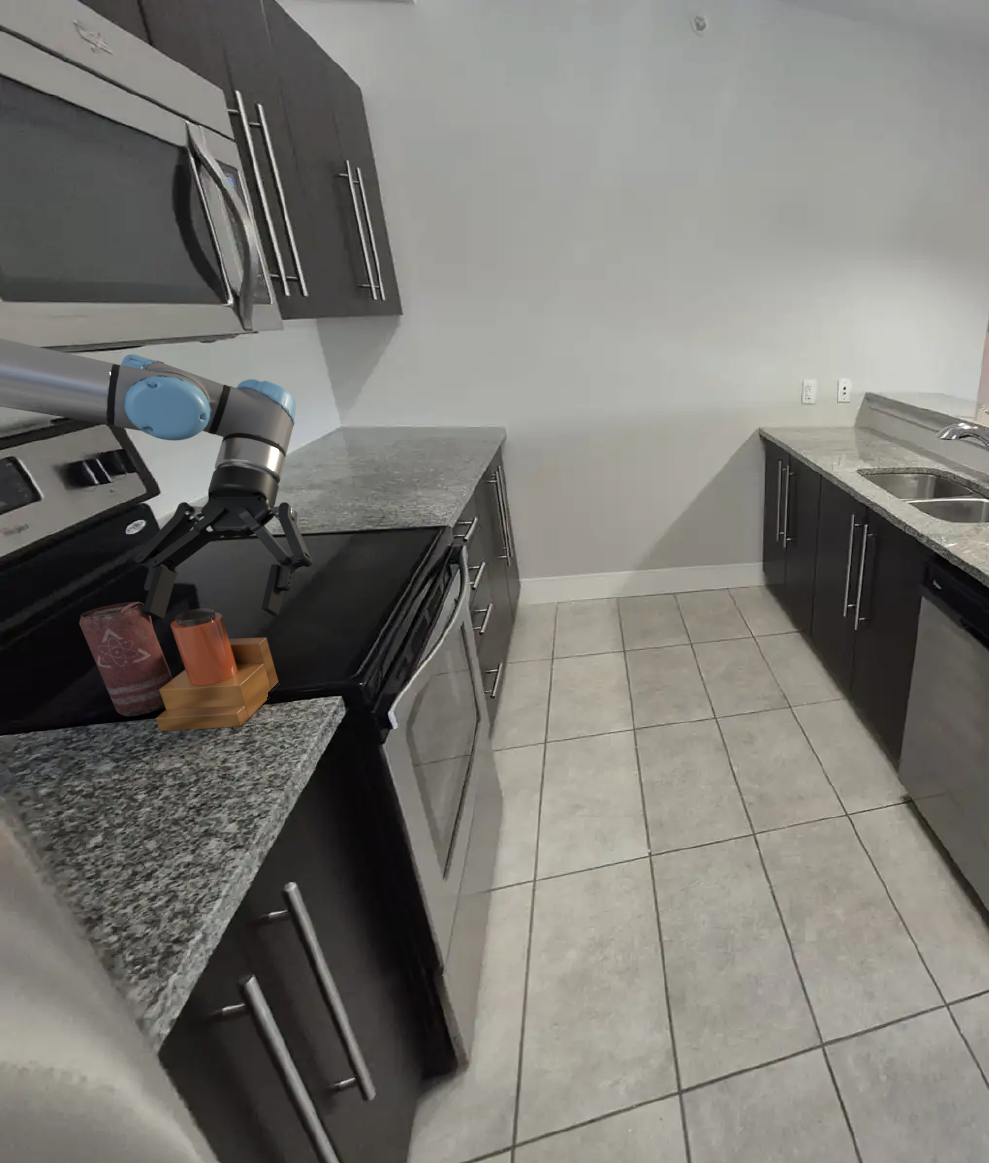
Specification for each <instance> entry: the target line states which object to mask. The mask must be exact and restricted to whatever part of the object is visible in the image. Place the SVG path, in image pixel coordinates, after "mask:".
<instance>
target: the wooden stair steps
mask: <svg viewBox="0 0 989 1163" xmlns="http://www.w3.org/2000/svg"><path fill="white" fill-rule="evenodd" d="M229 641H230V645H231V648H232V651H233V655H234V658H235V661H236V665H237V668H238V672H237V673H236V674H235V675H234V676H233V677H231V678H229V679H227V680H224V681H221V682H218V683H214V684H209V685H194V684H191V683H190V682H189V679H188V676H187V673H186V670H185V669H184V670H183V671H181V672H180V673H179V674H177V675H176V676H175V677H173V679H172V680H171V681H170V682H168V683H167V684H166V685H165V686H163V687H162V688H161V689H159V690H160V693H161V696H162V699H163V702H164V705H165V707H164V708H165V710H163V711H162V712H161V713H160V714H159V715H157V717H156V718H155V720H156V724H157V727H158V728H159V731H160V732H171V731H189V730H190V731H191V730H202V729H203V730H205V729H218V728H219V729H221V728H222V729H223V728H236V727H237V728H239V727H242V726H243V725H244V724H245V723H246V721H248V720H249V718H250V717H252V715H254V713H255V712H256V711H258V710H259V709H260V707H261V706H262V705H263V704H265V703H266V702H267V700H268V699H267V697H268V692H269V691H270V690H271V689H272V688H273V687H274V686H275V685H276V684H277V683H278V682H279V679H278V675H277V672H276V668H275V664H274V661H273V656H272V653H271V649H270V645H269V642H268V639H267V637H246V638H245V637H242V638H229Z"/></svg>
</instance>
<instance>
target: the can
mask: <svg viewBox="0 0 989 1163" xmlns="http://www.w3.org/2000/svg"><path fill="white" fill-rule="evenodd" d="M144 605H145V603H143V602H141V601H130V602H122V603H114V604H110V605H105V606H101V607H97V608H93V609H91V610H88V611H86V612H83V613H81V615H80V619H79V622H78V623H79V626H80V628H81V632H82V634H83V635H84V638H85V640H86V643H87V645H88V648H89V650H90V652H91V655H92V657H93V659H94V662H95V664H96V666H97V669H98V671H99V674H100V676H101V678H102V681H103V683H104V685H105V688H106V690H107V692H108V694H109V695H108V696H109V697H110V699H111V701H112V704H113V706H114V709H115V711H116V713H118V714H119V715H121V716H123V717H135V716H143V715H147V714H150V713H153V712H156V711H159V710H162V709H164V708H166V707H165V705H164V702H163V699H162V696H161V693H160V690H159V689H161V688H162V687H163V686H165V685H166V684H167V683H168V682H170V681H171V680H172V679H174V677H173V676H172V673H171V671H170V668H169V666H168V663H167V660H166V658H165V655H164V652H163V650H162V647H161V645H160V642H159V640H158V637H157V634H156V632H155V629H154V625H153V621H152V616H150V615H148V614H145V613H143V609H144Z"/></svg>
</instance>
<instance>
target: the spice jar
mask: <svg viewBox="0 0 989 1163" xmlns="http://www.w3.org/2000/svg"><path fill="white" fill-rule="evenodd" d="M174 619H175V620H173V621H172V622H171V623H170V628H171V631H172V634H173V637H174V640H175V644H176V646H177V649H178V652H179V655H180V658H181V661H182V663H183V667H184V670H186V673H187V676H188V679H189V682H190V683H191V684H194V685H209V684H214V683H218V682H221V681H224V680H227V679H229V678H231V677H233V676H234V675H235V674H236V673H237V672H238V668H237V665H236V661H235V658H234V655H233V651H232V648H231V645H230V641H229V639H230V638H229V635H228V632H227V628H226V625H225V622H224V618H223V615H222V614H221V613H220V612H216V611H215V609H213V608H206V607H205V608H204V607H203V608H194V609H190V610H187V611H183V612H180V613H179V614H177V615H176V616H175V617H174Z"/></svg>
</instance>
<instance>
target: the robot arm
mask: <svg viewBox="0 0 989 1163" xmlns="http://www.w3.org/2000/svg"><path fill="white" fill-rule="evenodd" d="M0 407H2V408H7V409H12V410H19V411H23V412H25V411H26V412H31V413H37V414H42V415H49V416H55V417H60V418H67V419H73V420H78V421H85V422H91V423H96V424H102V425H108V426H113V427H117V428H122V429H126V430H127V429H128V430H134V431H140V432H142V433H144V434H147V435H148V436H151V437H153V438H156V439H160V440H164V441H183V440H189V439H192V438H193V437H195V436H197V435H198V434H200V433H202V432H204V433H208V434H209V435H215V436H218V437H222V440H221V444H220V447H219V450H218V453H217V457H216V459H215V464H214V469H215V470H214V471H213V472H212V476H211V478H210V482H209V487H208V489H207V495H208V496H207V497H208V498H207V499H208V500H207V502H206V503H205V504H204V505H203V506H195V505H190V504H189V503H188V502H185V501H182V502H180V503H178V505H177V508H176V509H175V511H174V514H173V516H172V517H171V518H170V519H169V520H168V521H167V522H166V523H165V524H164V525H163V526H162V527H161V528H160V529H159V531H157V532H156V533H155V534H154V536H153V537H152V538H151V539H150V540H148V542H147V543H146V544H145V546H143V547H142V548H141V549H140V551H138V552H137V553H136V555H135V556H134V558H133V561H134V562H135V563H137V564H139V565H141V566H142V567H144V568H146V569H147V570H148V572H147V575H146V579H145V583H144V585H143V590H144V591H145V592H147V596H146V599H145V602H144V604H145V605H144V609H143V613H145V614H148V615H150V616H151V618H154V619H156V620H164V619H165V616H166V614H167V609H168V606H169V602H170V599H171V595H172V592H173V589H174V585H175V582H176V579H177V573H175V572H173V571H174V570H175V568H177V567H178V566H180V565H181V564H182V563H184V562H185V561H186V560H187V559H189V558H190V557H192V556H193V555H194V554H196V553H197V552H198V551H200V550H201V549H202V548H204V547H205V546H207V545H208V544H209V543H211V542H215V541H217V540H219V539H220V538H221V537H224V538H236V537H240V538H250V537H251V536H253V535H255V536H256V537H257V538H258V539H259V541H260V542H261V544H263V545H264V546H265V548H266V549H267V550H268V551H269V552H270V553H271V555H272V556H273V557H274V558H275V560H276V562H278V563H279V564H280V565H279V564H278V563H277V564H276V563H274V564H273V563H271V565H270V569H269V573H268V579H267V582H266V583H267V584H266V588H265V592H264V595H263V601H262V605H261V610H263V612H264V611H265V612H266V613H268V614H269V615H271V616H273V617H275V616H280V612H281V607H282V602H283V598H284V593H285V592H290V591H291V589H292V586H293V581H294V576H295V572H296V570H298V569H299V568H302V567H305V568H309V567H311V566H312V565H313V563H314V562H313V559H312V557H311V555H310V553H309V549H308V547H307V545H306V543H305V540H304V538H303V535H302V533H301V531H300V529H299V526H298V524H297V522H298V512H297V510H295V508H293V507H292V506H291V505H290V503H289V502H286V501H284V502H281V503H280V504H279V505H278V506H275V505H276V503H277V502H276V501H277V498H278V492H279V487H280V486H279V484H280V482H281V478H282V474H283V470H284V465H285V461H286V457H287V452H288V448H289V445H290V441H291V436H292V433H293V430H294V426H295V416H296V410H297V403H296V400H295V398H294V396H293V395H292V394H291V393H290V392H289V391H288V390H287V389H285V388H284V387H282V386H281V385H278V384H277V383H273V382H271V381H268V380H263V381H260V380H258V379H257V378H251V379H245V380H243V381H241V382H239V383H238V384H237V386H236V387H235V386H232V385H228V384H223V383H220V382H217V381H215V380H212V379H209V378H206V377H203V376H201V375H197V374H195V373H192V372H189V371H187V370H184V369H180V368H179V367H176V366H173V365H169V364H166V363H165V362H163V361H160V360H155V359H151V358H148V357H144V356H142V355H139V354H127V355H125V356H124V357H123V359H122V361H121V363H120V364H118V363H113V362H109V361H103V360H100V359H95V358H90V357H86V356H81V355H77V354H72V353H69V352H68V353H67V352H64V351H60V350H59V351H58V350H55V349H54V350H53V349H49V348H44V347H40V346H35V345H32V344H26V343H21V342H17V341H12V340H8V339H4V338H0ZM274 518H275V519H277V520H278V521H279V524H280V526H281V529H282V530H283V533H284V536H285V538H286V540H287V543H288V546H289V548H290V551H291V553H292V556H290V555H289V553H287V552H286V550H285V549H284V548H283V547H282V546H281V544H280V543H279V542H278V541H277V539H276V538H275V537H274V535H272V533H271V532H270V531H269V529H268V528H267V527H266V525H267V524H268V523H269V522H270V521H272V520H273V519H274ZM209 527H210V528H211V529H212V530H210V531H209V530H208V528H209Z"/></svg>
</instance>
